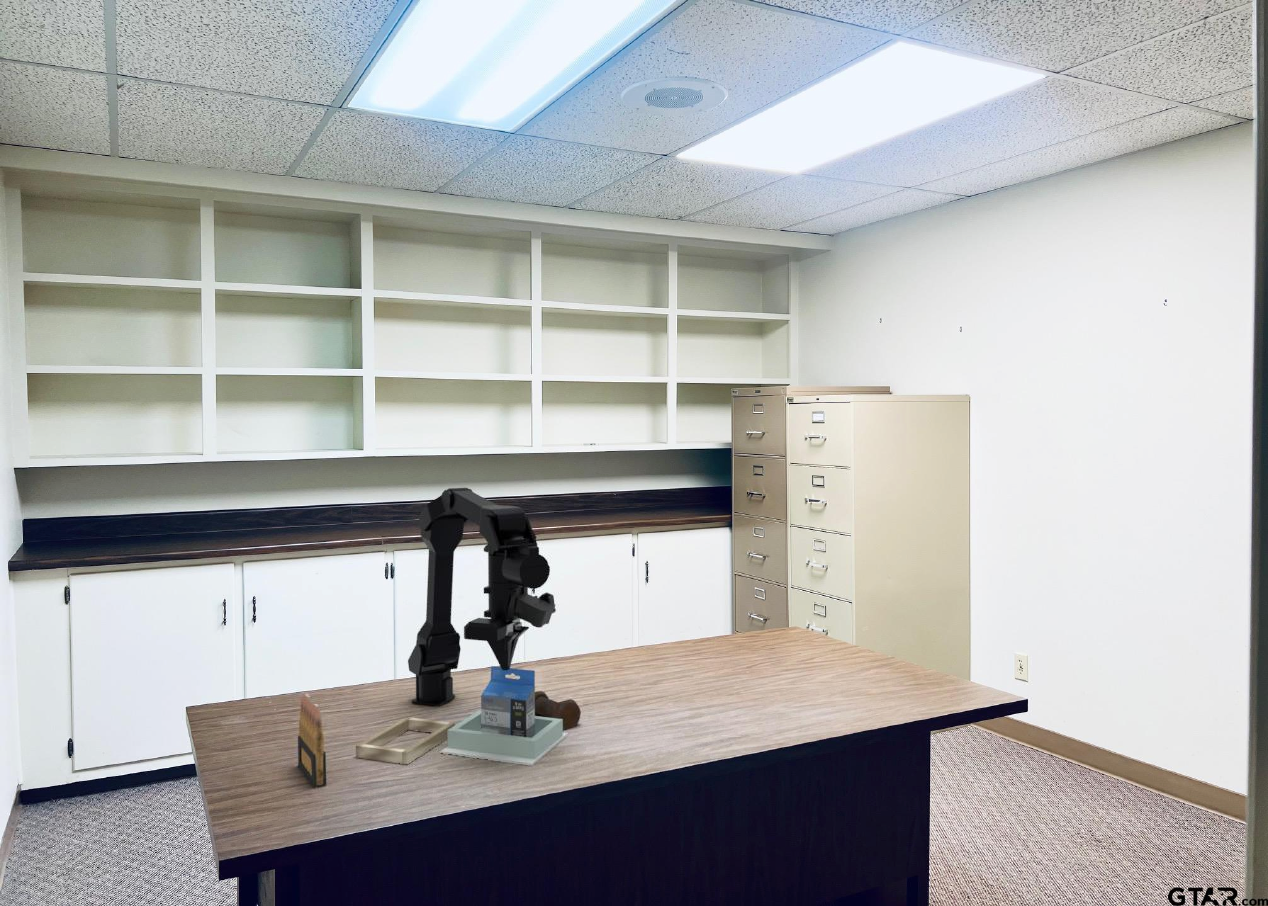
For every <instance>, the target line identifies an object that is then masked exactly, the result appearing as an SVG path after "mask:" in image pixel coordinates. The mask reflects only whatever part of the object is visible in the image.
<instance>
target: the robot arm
mask: <svg viewBox="0 0 1268 906" xmlns="http://www.w3.org/2000/svg"><path fill="white" fill-rule="evenodd" d="M469 521H470V522H472V523H474V524H475V525H477V526H478V527H479V528H478V533H479V534H480V535H481V536H482V537H483V539H484V540H485V541H486V542H487V544H486V545H485V546H484V547H483V552H485V553H487V555H488V557H487V559H488V560H487V565H488V570H487V571H488V572H487V574H488V581H487V582H488V583H487V586H484V587H483V594H487V595H488V609H486V610H484V611H483V617H477V618H475V619H472V620H469V621H468V622H467V623H466V624H465V625H464V626H463V639H464V640H468V641H469V640H471V641H483V642H486V643H487V644H488V646H489V647H490V648H491V651H492V653H493V655H494V656H495V659H496V661H497V663H498V664H499V667H501V669H502V670H506V671H507V670H509V669H510V668H511V665H512V663H513V657H514V655H515V650H516V648H517V644H518V642H519V638H520V637H521V636H522V635H523V634H524V633H526V632H527V631H528V630H529V629H530V627H529V626H527V625H526V626H523V623H522V621H521V620H523V621H525V622H527V623H529V624H530V625H532V626H533V627H535V628H542V627H544V626H545V625H548V624H550V620H551V618H552V614H555V613H556V612H557V611H556V604H555V597H554V595H553V594H552V593H549V592H544V593H542V594H541V595H540V596H538V595H534V596H533V595H531V594H529V591H528V590H529V589H531V590H535V589H539V588H541V587H542V586H544V584H546V582H547V581H548V579H549V576H550V571H551V567H550V566H549V562H548V560H547V559H546V558H545V557H544V556H543V555H541V554H540V547H539V546H538V543H537V536H536V533H535V531H534V529H533V528H532V525H531V523H530V520H529V517H528V516H527V514H526V511H525V510H524V509H523V508H522V507H520V506H515V505H514V506H513V505H504V504H503V505H500V504H496V503H494V502H492V501H490V500H488V499H487V498H484V497H483V496H481V495H479V494H478V493H475V492H473V490H472V489H471V488H468V487H452V488H451V487H449V488H447V489H444V490H443V491H442V493H441V494H440V495H439V496H438V497H437V498H435V499H433V500H432V501H430V502H429V503H427V504H426V505H425V506H424V508H423V509H422V511H421V513H420V515H419V518H418V524H419V529H420V537H421V539H422V540H423V542H424V545H426V547H427V549H428V562H427V563H428V564H427V565H428V567H427V585H426V586H427V588H426V590H427V591H426V615H425V621H424V623H423V625H422V626H421V628H420V629H419V630H418V632H417V635H416V643H415V646H414V648H413V649H412V651H411V654H410V655H409V658H408V660H407V664H408V665H407V666H408V670H409V672H410V673H412V674H414V675H415V698H413V699H411V703H412V704H418V705H419V704H420V705H425V706H435V707H439V706H442V705H444V704H446V703H448V701H451V700H452V698H453V699H454V698H456V694H454V687H453V686H454V685H453V684H454V681H453V680H454V679H453V677H452V670H457V669H458V667H459V661H460V656H461V655H460V654H461V650H462V649H461V645H460V642H461V635H460V634H459V632H458V631H457V630H456V629H455V627H454V626H453V624H452V604H453V603H452V601H453V582H454V580H453V578H454V577H453V576H454V557H455V556H454V555H455V550H456V549H457V547H458V546H459V545H460V543H461V541H462V540H463V537H464V531H465V527H466V525H467V524H468V523H469Z"/></svg>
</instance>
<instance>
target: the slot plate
mask: <svg viewBox="0 0 1268 906" xmlns="http://www.w3.org/2000/svg"><path fill="white" fill-rule="evenodd" d="M447 732H448V739H447V746H446V747H445V748H443V749H442V750H440V754H441V753H443V754H442V755H448V754H452V755H451V756H455V755H458V756H457V757H462V756H465V757H464V758H471V759H477V758H479V759H478V760H484V759H488V760H487V761H492V760H493V761H494V762H499V761H500V762H501V763H507V764H516V765H521V764H522V765H524V766H529V767H533V766H534V765H535V764H536V763H537V762H538V761H541V759H542V758H543V757H544V756H546V755H547V754H548V753H549V752H550V751H551V750H552V749H554V748H555V747H557V745H559V744H560V743H561V742H562V741H563V740H564V739H566V737H568V736H569V732H567V731H566V732H565V731H564V730H563V719H556V718H548V717H545V716H535V736H533V737H532V738H528V737H520V736H511V735H503V734H495V733H487V732H481V709H478V710H476V712H474V713H473V714H471V715H470V716H468V717H466V718H465V719H463V720H462V721H459V722H458V723H457V724H455V726H454V727H452V728H450V729H449V730H447Z"/></svg>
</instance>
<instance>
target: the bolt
mask: <svg viewBox="0 0 1268 906" xmlns="http://www.w3.org/2000/svg"><path fill="white" fill-rule="evenodd" d="M581 713H582V712H581V709H580V707H579V705H578V704H577V702H576V701H575V699H572V698H569V699H566V700H561V701H556V700H553V699H550V698H549V696H548V695H547V694H546V692H545V691H543V690H538V691H535V716H539V717H541V716H542V717H548V718H556V719H563V731H566V730H571V729H573V728H575V727H577V725H578V723H579V722H580V719H581V715H582V714H581ZM540 715H541V716H540Z"/></svg>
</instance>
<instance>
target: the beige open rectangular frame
mask: <svg viewBox="0 0 1268 906" xmlns="http://www.w3.org/2000/svg"><path fill="white" fill-rule="evenodd" d="M455 725H456V723H455V722H449V721H441V720H432V719H425V718H424V719H423V718H417V717H408V716H407V717H405V718H403V719H401V720H399V721H397V722H395V723H394V724H392V725H390V726H388V727H387V728H384V729H383V730H381V731H380V732H378V733H376V734H374V735H372V736H370V737H369V738H366V739H365V740H363V741H361V742H359V743H357V744H356V745H355V758H356V759H357V758H358V759H364V760H371V761H377V762H378V761H379V762H386V763H392V764H399V763H400V764H401V765H406V764H408V765H409V763H410V764H411V763H413V762H414V761H415V759H416V758H417V759H419V758H420V757H422V756H423V755H425V754H426V752H427V753H428V752H430V751H431V750H433V749H434V748H436V747H437V746H439V745H440V744H442V743H444V742H445V741H447V740H448V732H447V730H449V729H450V728H452V727H454V726H455ZM407 730H408V731H410V730H417V731H421V732H420V733H425V732H431V733H429V735H428V736H425V737H424V738H423V739H421V740H419V741H418V742H416V743H414V744H413V745H411V746H409V747H408V748H406V749H402V748H396V747H388V746H384V745H386V744H387V742H388V743H389V741H390V742H391V741H393V740H395V739H397V738H398V737H400V736H402V735H404V734H405V733H406V732H405V731H407ZM408 731H407V732H408ZM417 731H416V732H417ZM404 732H405V733H404ZM401 734H402V735H401ZM399 735H400V736H399ZM446 739H447V740H446ZM443 741H444V742H443ZM441 742H442V743H441ZM438 744H439V745H438ZM435 746H436V747H435ZM433 747H434V748H433ZM432 748H433V749H432ZM430 749H431V750H430ZM429 750H430V751H429ZM424 753H425V754H424ZM422 754H423V755H422ZM418 757H419V758H418ZM417 759H416V760H417ZM412 761H413V762H412Z"/></svg>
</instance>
